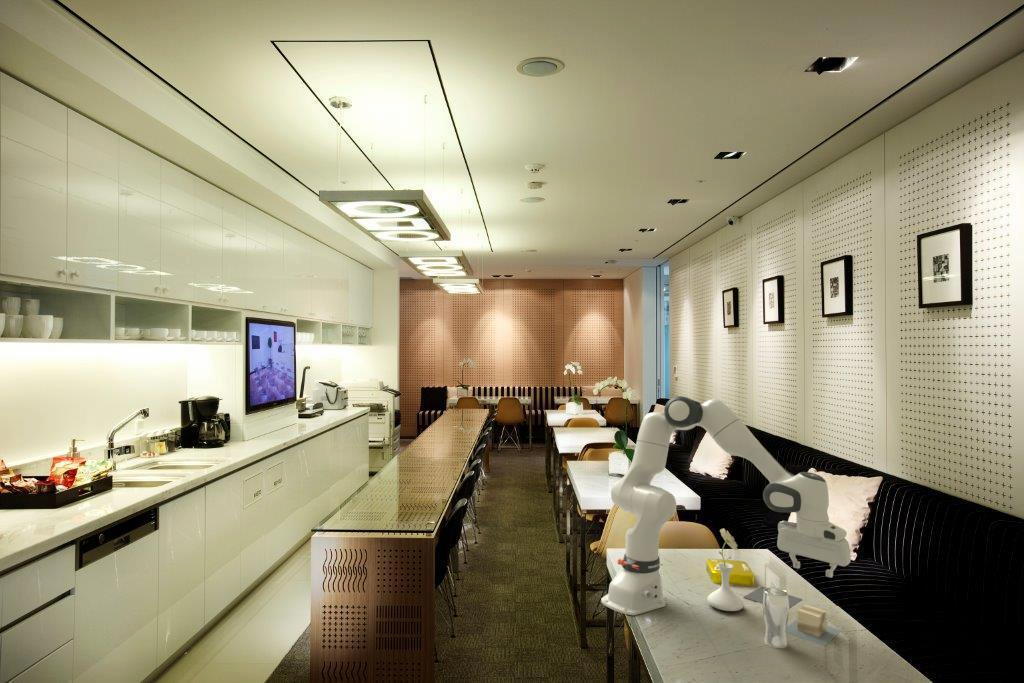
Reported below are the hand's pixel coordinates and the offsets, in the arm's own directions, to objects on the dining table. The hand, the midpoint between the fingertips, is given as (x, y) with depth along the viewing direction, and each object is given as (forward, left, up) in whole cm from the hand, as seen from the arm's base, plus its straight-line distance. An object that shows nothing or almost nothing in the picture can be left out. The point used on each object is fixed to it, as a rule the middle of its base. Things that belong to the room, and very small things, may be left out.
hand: (812, 572), depth 176 cm
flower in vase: (-5, +26, -18) cm, 32 cm away
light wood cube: (-1, 0, -18) cm, 18 cm away
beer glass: (-17, +4, -18) cm, 25 cm away
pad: (+13, +18, -18) cm, 28 cm away
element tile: (+20, +37, -18) cm, 46 cm away
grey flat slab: (-1, 0, -18) cm, 18 cm away
